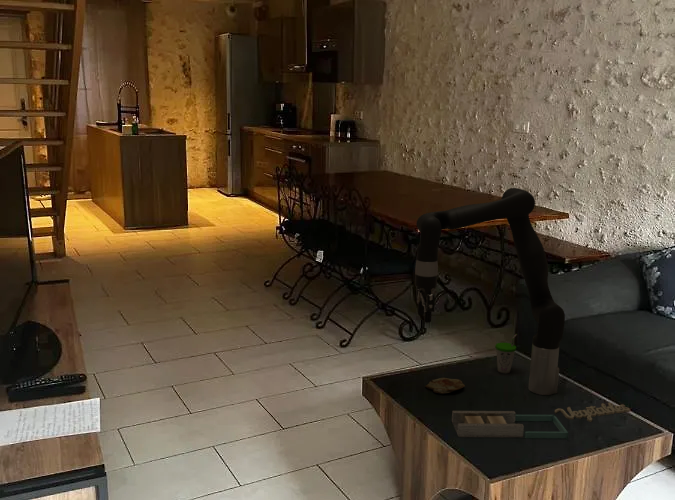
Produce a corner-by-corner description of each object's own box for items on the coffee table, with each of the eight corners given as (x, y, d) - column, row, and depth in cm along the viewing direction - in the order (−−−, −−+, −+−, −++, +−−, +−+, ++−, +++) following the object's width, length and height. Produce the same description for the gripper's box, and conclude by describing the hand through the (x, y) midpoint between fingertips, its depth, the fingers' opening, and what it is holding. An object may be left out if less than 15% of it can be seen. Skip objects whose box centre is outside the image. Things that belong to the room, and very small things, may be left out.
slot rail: (512, 423, 211) (513, 410, 210) (523, 440, 201) (524, 426, 200) (451, 423, 211) (452, 410, 210) (458, 440, 200) (459, 426, 199)
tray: (553, 422, 212) (554, 414, 212) (567, 441, 201) (568, 432, 200) (513, 422, 212) (514, 414, 211) (525, 441, 200) (525, 432, 200)
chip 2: (501, 424, 208) (502, 416, 207) (506, 432, 203) (506, 423, 203) (486, 424, 208) (486, 416, 207) (490, 432, 203) (490, 423, 202)
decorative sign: (570, 422, 211) (552, 409, 220) (570, 425, 211) (551, 411, 221) (638, 413, 219) (617, 400, 228) (637, 416, 219) (617, 403, 228)
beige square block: (479, 424, 208) (480, 416, 207) (483, 432, 203) (484, 423, 202) (464, 424, 208) (464, 415, 207) (467, 432, 203) (468, 423, 202)
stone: (436, 399, 229) (437, 390, 228) (423, 386, 238) (423, 379, 238) (469, 393, 234) (470, 385, 233) (455, 381, 243) (456, 374, 242)
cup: (493, 373, 250) (495, 336, 247) (494, 366, 258) (496, 330, 255) (514, 376, 248) (517, 339, 245) (514, 368, 256) (517, 332, 253)
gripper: (443, 278, 216) (440, 324, 220) (431, 267, 230) (428, 311, 234) (421, 278, 215) (419, 325, 219) (410, 268, 229) (408, 312, 233)
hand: (424, 318), depth 226 cm, fingers open, 8 cm apart
